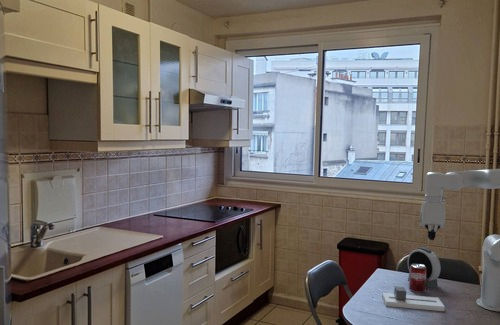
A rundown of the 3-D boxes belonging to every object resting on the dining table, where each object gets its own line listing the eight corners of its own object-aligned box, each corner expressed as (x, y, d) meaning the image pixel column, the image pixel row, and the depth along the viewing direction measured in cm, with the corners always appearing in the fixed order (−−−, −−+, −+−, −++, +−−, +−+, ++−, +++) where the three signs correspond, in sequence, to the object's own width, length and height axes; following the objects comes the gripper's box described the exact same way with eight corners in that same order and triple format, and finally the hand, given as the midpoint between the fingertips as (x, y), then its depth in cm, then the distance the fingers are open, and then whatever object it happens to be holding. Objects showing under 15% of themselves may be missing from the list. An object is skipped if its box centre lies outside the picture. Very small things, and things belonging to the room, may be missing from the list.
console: (437, 302, 185) (438, 297, 185) (444, 311, 176) (444, 306, 175) (382, 297, 189) (382, 292, 189) (385, 305, 180) (385, 301, 179)
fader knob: (403, 295, 185) (404, 287, 185) (405, 300, 180) (406, 291, 180) (394, 294, 186) (394, 286, 186) (396, 299, 181) (396, 290, 181)
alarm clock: (402, 279, 214) (404, 244, 212) (416, 276, 218) (418, 242, 217) (429, 290, 199) (431, 253, 198) (443, 287, 204) (445, 250, 203)
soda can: (426, 293, 195) (428, 268, 194) (410, 292, 196) (411, 267, 196) (423, 288, 202) (424, 264, 201) (407, 286, 203) (409, 262, 203)
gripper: (448, 199, 190) (446, 238, 191) (414, 197, 193) (412, 236, 194) (453, 201, 183) (451, 242, 184) (418, 199, 185) (416, 240, 187)
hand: (431, 239), depth 189 cm, fingers closed
